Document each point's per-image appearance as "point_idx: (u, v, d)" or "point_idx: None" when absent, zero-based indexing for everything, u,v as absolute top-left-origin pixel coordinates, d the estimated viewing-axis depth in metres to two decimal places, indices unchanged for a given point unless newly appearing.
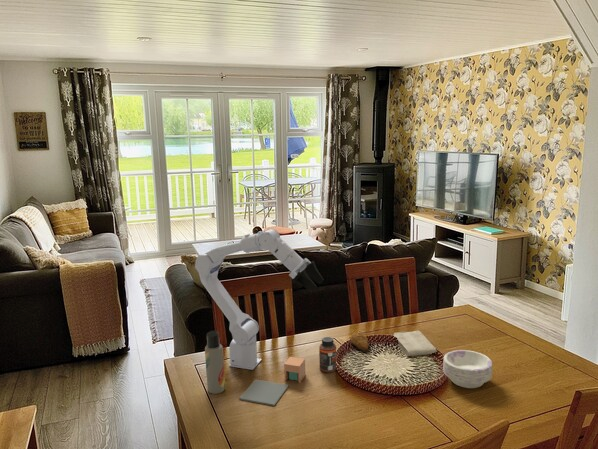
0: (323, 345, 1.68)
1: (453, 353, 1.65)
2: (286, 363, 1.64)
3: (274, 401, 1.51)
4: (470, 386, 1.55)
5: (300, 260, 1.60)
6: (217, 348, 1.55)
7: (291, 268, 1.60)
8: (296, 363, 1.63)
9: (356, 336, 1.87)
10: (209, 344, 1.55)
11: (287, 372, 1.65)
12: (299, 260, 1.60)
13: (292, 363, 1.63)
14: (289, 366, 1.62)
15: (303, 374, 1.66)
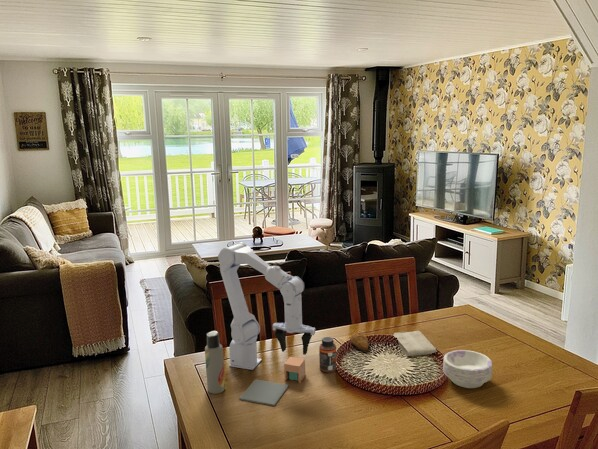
0: (323, 345, 1.68)
1: (453, 353, 1.65)
2: (286, 363, 1.64)
3: (274, 401, 1.51)
4: (470, 386, 1.55)
5: (288, 327, 1.60)
6: (217, 348, 1.55)
7: None
8: (296, 363, 1.63)
9: (356, 336, 1.87)
10: (209, 344, 1.55)
11: (287, 372, 1.65)
12: (287, 326, 1.60)
13: (292, 363, 1.63)
14: (289, 366, 1.62)
15: (303, 374, 1.66)
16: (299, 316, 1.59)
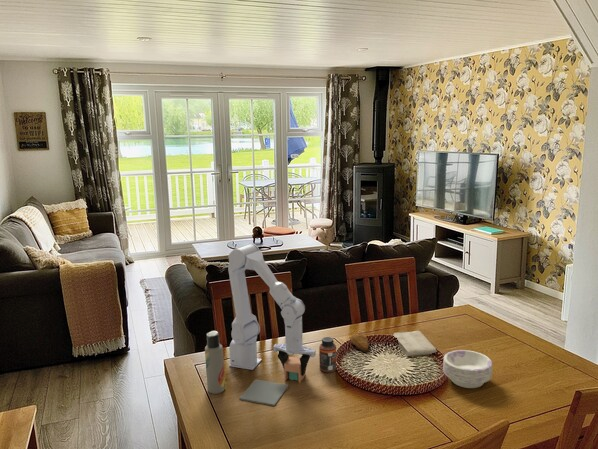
0: (323, 345, 1.68)
1: (453, 353, 1.65)
2: (286, 363, 1.64)
3: (274, 401, 1.51)
4: (470, 386, 1.55)
5: (288, 348, 1.61)
6: (217, 348, 1.55)
7: None
8: (296, 363, 1.63)
9: (356, 336, 1.87)
10: (209, 344, 1.55)
11: (287, 372, 1.65)
12: (287, 348, 1.62)
13: (292, 363, 1.63)
14: (289, 366, 1.62)
15: None
16: (300, 338, 1.61)
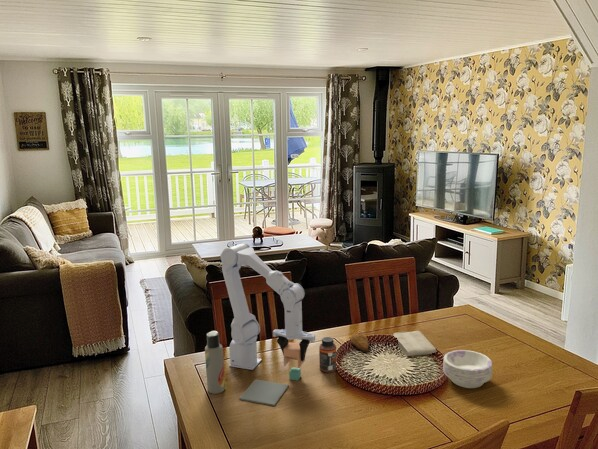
0: (323, 345, 1.68)
1: (453, 353, 1.65)
2: (285, 348, 1.63)
3: (274, 401, 1.51)
4: (470, 386, 1.55)
5: (288, 333, 1.60)
6: (217, 348, 1.55)
7: None
8: (295, 348, 1.62)
9: (356, 336, 1.87)
10: (209, 344, 1.55)
11: (286, 357, 1.64)
12: (287, 332, 1.60)
13: (291, 348, 1.62)
14: (289, 351, 1.61)
15: (303, 360, 1.65)
16: (299, 323, 1.60)
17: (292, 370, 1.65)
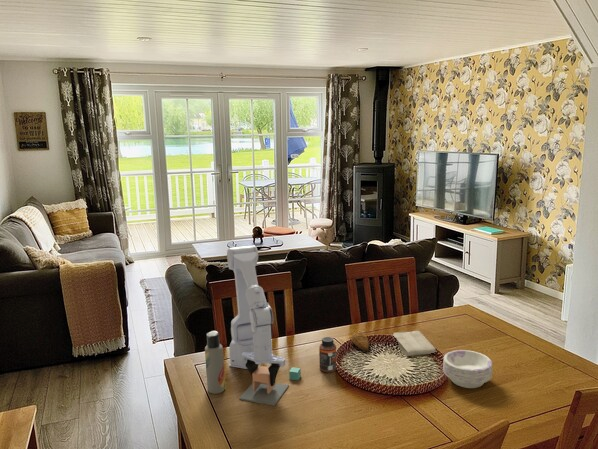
0: (323, 345, 1.68)
1: (453, 353, 1.65)
2: (254, 372, 1.54)
3: (274, 401, 1.51)
4: (470, 386, 1.55)
5: (256, 357, 1.52)
6: (217, 348, 1.55)
7: None
8: (265, 373, 1.54)
9: (356, 336, 1.87)
10: (209, 344, 1.55)
11: (256, 382, 1.56)
12: (255, 356, 1.52)
13: (261, 373, 1.54)
14: (258, 376, 1.53)
15: (273, 385, 1.56)
16: (268, 346, 1.52)
17: (292, 370, 1.65)
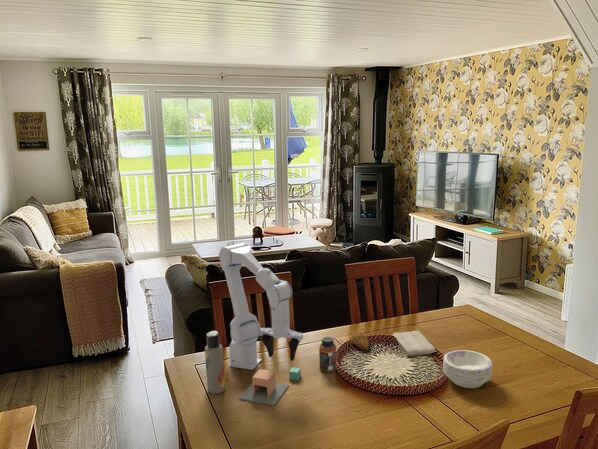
0: (323, 345, 1.68)
1: (453, 353, 1.65)
2: (254, 376, 1.55)
3: (274, 401, 1.51)
4: (470, 386, 1.55)
5: (274, 332, 1.56)
6: (217, 348, 1.55)
7: None
8: (265, 376, 1.54)
9: (357, 336, 1.87)
10: (209, 344, 1.55)
11: (256, 386, 1.56)
12: (274, 331, 1.56)
13: (261, 376, 1.54)
14: (258, 379, 1.53)
15: (273, 388, 1.56)
16: (286, 321, 1.56)
17: (292, 370, 1.65)
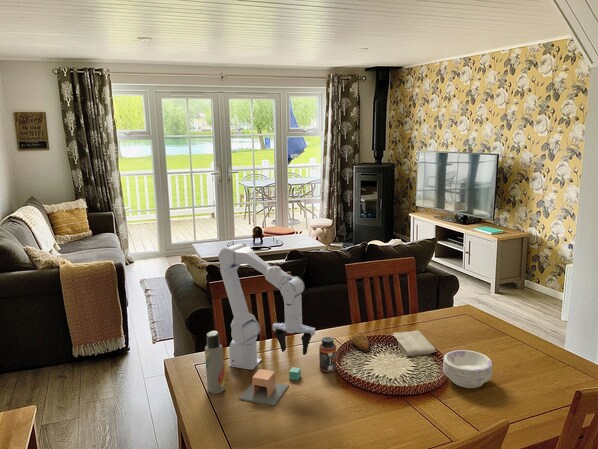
0: (323, 345, 1.68)
1: (453, 353, 1.65)
2: (254, 376, 1.55)
3: (274, 401, 1.51)
4: (470, 386, 1.55)
5: (287, 327, 1.60)
6: (217, 348, 1.55)
7: None
8: (265, 376, 1.54)
9: (357, 336, 1.87)
10: (209, 344, 1.55)
11: (256, 386, 1.56)
12: (287, 326, 1.60)
13: (261, 376, 1.54)
14: (258, 379, 1.53)
15: (273, 388, 1.56)
16: (299, 316, 1.59)
17: (292, 370, 1.65)
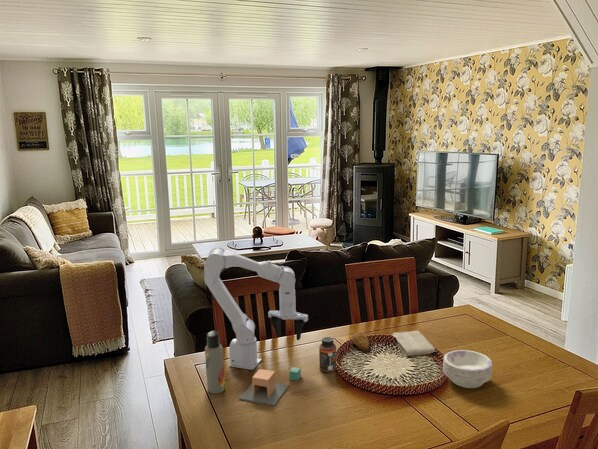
0: (323, 345, 1.68)
1: (453, 353, 1.65)
2: (254, 376, 1.55)
3: (274, 401, 1.51)
4: (470, 386, 1.55)
5: (282, 314, 1.71)
6: (217, 348, 1.55)
7: None
8: (265, 376, 1.54)
9: (357, 336, 1.87)
10: (209, 344, 1.55)
11: (256, 386, 1.56)
12: (281, 313, 1.71)
13: (261, 376, 1.54)
14: (258, 379, 1.53)
15: (273, 388, 1.56)
16: (293, 304, 1.71)
17: (292, 370, 1.65)
